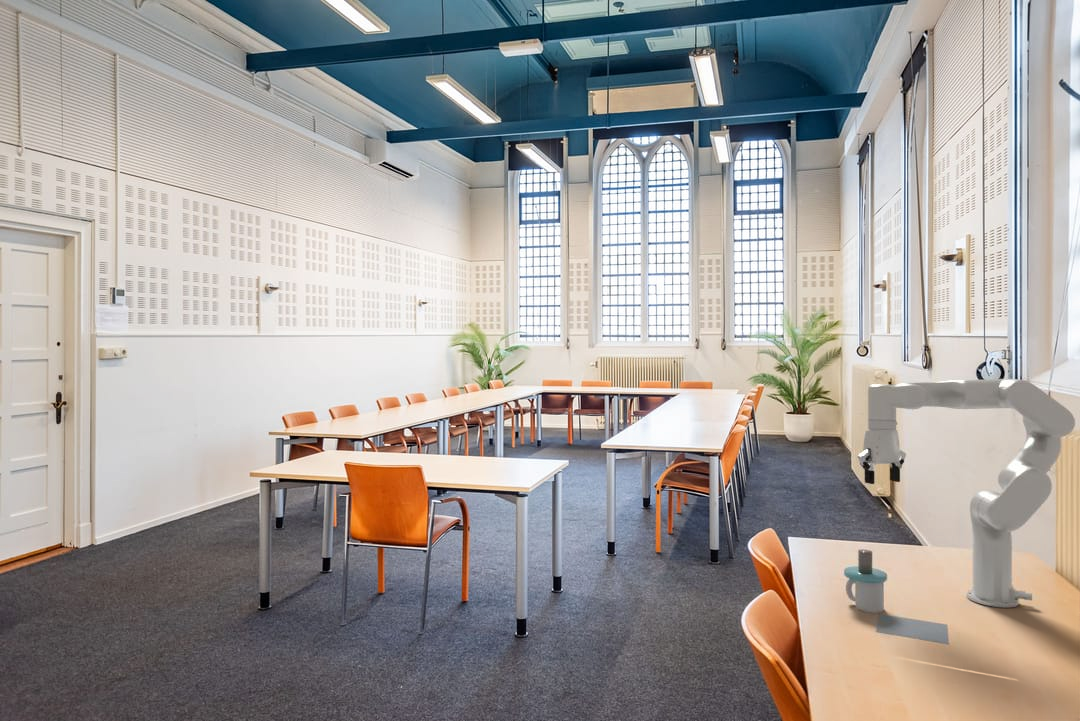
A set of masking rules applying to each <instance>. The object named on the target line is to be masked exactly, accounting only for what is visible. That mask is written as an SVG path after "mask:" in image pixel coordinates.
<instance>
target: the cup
mask: <svg viewBox="0 0 1080 721" xmlns="http://www.w3.org/2000/svg"><path fill="white" fill-rule="evenodd" d="M845 583H846V584H845V592H846V595H847V597H848V599H849V600H850V601H852V602H854V603H855V608H856V609H858V610H860V611H862V612H867V613H875V614H876V613H881V612H884V610H885V609H884V608H885V598H884V597H885V595H884V594H885V589H884V583H885V582H882V583H866V582H859V581H855V580H852V579H849V578H848V579H847V581H846V582H845ZM853 585H855V587H854V589H855V590H854V591H855V593H854V594H853V589H852V588H853Z"/></svg>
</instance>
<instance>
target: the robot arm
mask: <svg viewBox="0 0 1080 721" xmlns="http://www.w3.org/2000/svg"><path fill="white" fill-rule="evenodd" d="M867 388H868V389H867V425H868V426H867V428H868V429H866V430H865V433H864V437H863V438H864V439H863V447H862V449H863V450H862V452H861V453H859V455H857V459H858V461H859V464H860V466H861V467H862V469H863V470H864V483H865V484H869V485H874V484H875V470H874V468H875V467H876V465H885V464H886V465H887V464H889V465H890V467H889V480H890V482H891V481H892V482H896V483H900V482H901V469H902V467H903V464H904V463H905V459H906V458H907V453H906V452H905V451H903V450H901V449H900V440H899V433H898V430H897V425H898V422H897V408H899V409H906V410H912V411H913V410H918V409H921V408H922V407H923V408H924V407H931V408H933V407H935V408H936V407H938V408H940V407H941V408H947V409H948V408H949V409H953V410H956V409H957V410H978V409H979V410H981V409H982V410H984V409H986V410H987V409H1012V410H1015V411H1016V412H1018V413H1019V414H1020V415H1021V416H1022V423H1023V426H1024V428H1025V433H1026V436H1025V437H1026V438H1025V442H1024V443H1023V445H1022V446H1021V448H1020V449H1019V450H1018V451H1017V453H1015V455H1013V457H1012V458H1011V459H1010V460H1009V461H1008V462H1007V464H1006V465H1005V466H1004V467H1003V468H1002V469H1001V470H1000V472H999V473H998V475H997V476H998V477H997V482H998V484H999V486H1000V488H1001V489H1002V491H1001V492H997V491H994V490H981V491H979V492H977V493H975V494H974V495H973V496H972V498H971V500H970V503H969V513H970V522H971V529H972V530H971V531H972V589H969V590H967V591H966V597H967V598H968V599H969V600H970V601H973V602H975V603H978V604H980V605H984V606H988V607H989V606H990V607H995V608H1016V607H1018V606H1019V603H1020V601H1019V600H1025V601H1033V593H1030V592H1026V591H1025V590H1017V589H1016V588H1014V586H1013V563H1012V562H1013V559H1012V558H1013V551H1012V550H1013V541H1012V540H1013V539H1012V532H1015V531H1017V530H1019V529H1020V528H1022V527H1024V525H1025V524H1026V523H1027V522H1028V521H1029V520H1030V519H1031V518H1032V517H1033V515H1034V514H1035V513H1036V512H1037V511H1038V510H1040V508H1041V507H1042V505H1043V504H1044V503H1045V502H1046V501H1047V500H1048V498H1049V496H1050V495H1051V492H1052V488H1053V486H1052V484H1053V483H1052V480H1051V478H1050V476H1049V475H1048V472H1049V471H1050V469H1051V468H1052V467H1053V466H1054V464H1055V463H1056V462H1057V460H1058V458H1059V456H1060V454H1061V449H1062V437H1063V438H1064V437H1066V436H1069V435H1070V434H1071V433H1072V432H1073V430H1074V429H1075V426H1076V419H1075V416H1074V415H1073V414H1072V412H1071V411H1070V410H1069V409H1068V408H1066V407H1065V406H1064V405H1063V404H1061V403H1059V401H1057V400H1056V399H1054V398H1053V397H1051V396H1050V395H1049V394H1047V393H1046V392H1045V391H1043V390H1042V389H1040V388H1039V387H1038V386H1037V385H1035V384H1033V383H1032V382H1030V381H1028V380H1025V379H1018V378H1017V379H1016V378H991V379H990V378H988V379H962V380H961V379H960V380H946V381H928V382H927V381H925V382H923V381H922V382H921V381H920V382H903V383H902V382H901V383H898V384H896V385H893V384H889V383H888V384H884V383H883V384H882V383H877V384H874V383H873V384H870V385H868V387H867Z"/></svg>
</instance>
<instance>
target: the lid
mask: <svg viewBox="0 0 1080 721" xmlns="http://www.w3.org/2000/svg"><path fill="white" fill-rule="evenodd" d="M857 553H858V555H857V556H858V557H857V558H858V559H857V560H858V563H857V565H856V566H847V567H845V568H844V569H843V575H844V577H846V578H847V579H848V580H849V579H852V580H855V581H859V582H866V583H882V582H884V583H885V582H887V581H888V574H887V572H885V571H883V570H880V569H877V568H874V567H873V550H870V549H858V550H857Z"/></svg>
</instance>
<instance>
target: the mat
mask: <svg viewBox="0 0 1080 721" xmlns="http://www.w3.org/2000/svg"><path fill="white" fill-rule="evenodd" d="M875 632H876V633H880V634H886V635H892V636H899V637H905V638H910V639H916V640H922V641H926V642H927V641H928V642H933V643H939V644H945V645H949V644H950V643H949V633H948V624H946V623H941V622H934V621H933V622H932V621H927V620H921V619H915V618H909V617H902V616H898V615H896V616H895V615H892V614H891V615H890V614H884V613H879V614H878V619H877V624H876V630H875Z"/></svg>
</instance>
